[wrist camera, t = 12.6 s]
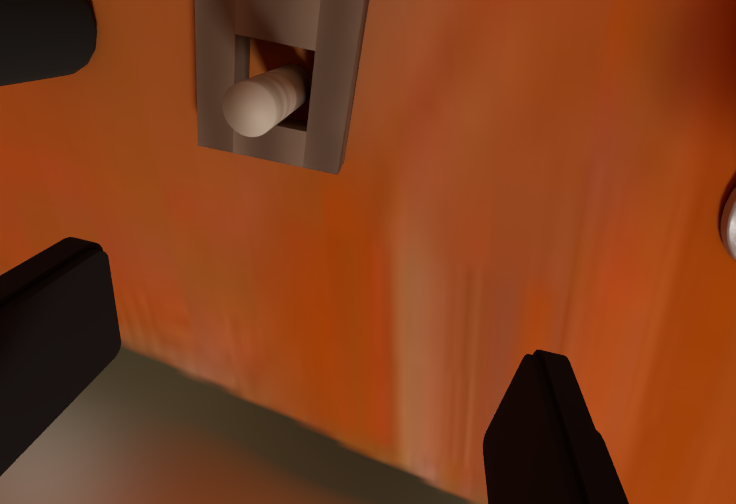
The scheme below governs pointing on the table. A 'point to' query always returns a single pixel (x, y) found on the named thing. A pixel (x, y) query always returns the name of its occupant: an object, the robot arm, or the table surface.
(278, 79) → the birch peg
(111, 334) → the robot arm
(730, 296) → the table surface
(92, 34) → the wine bottle
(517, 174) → the table surface
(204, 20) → the walnut hole block
